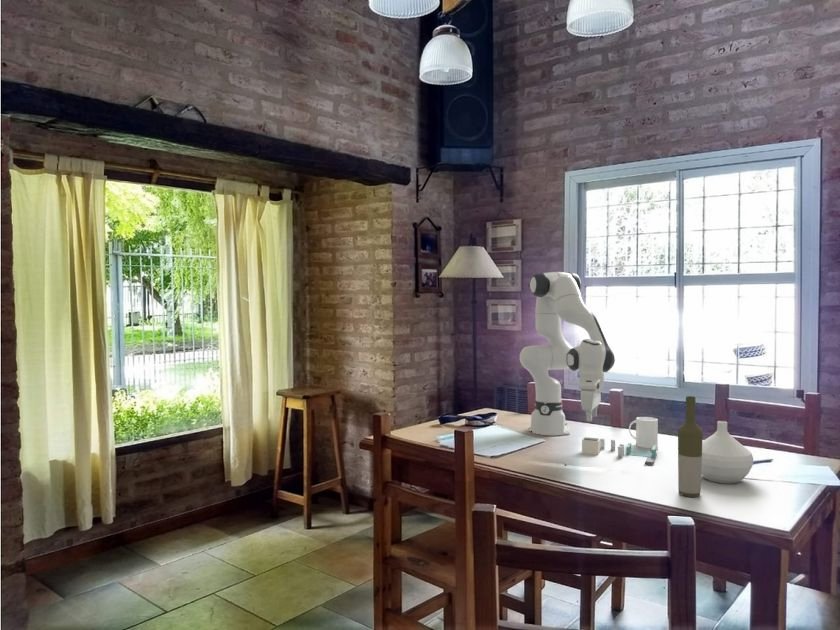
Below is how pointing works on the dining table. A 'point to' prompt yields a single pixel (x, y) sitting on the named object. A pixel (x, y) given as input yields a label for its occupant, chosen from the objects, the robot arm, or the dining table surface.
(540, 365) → the robot arm
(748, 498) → the dining table surface
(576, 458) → the dining table surface
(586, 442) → the box
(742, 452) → the vase
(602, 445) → the board
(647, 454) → the end holder
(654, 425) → the mug
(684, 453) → the bottle
